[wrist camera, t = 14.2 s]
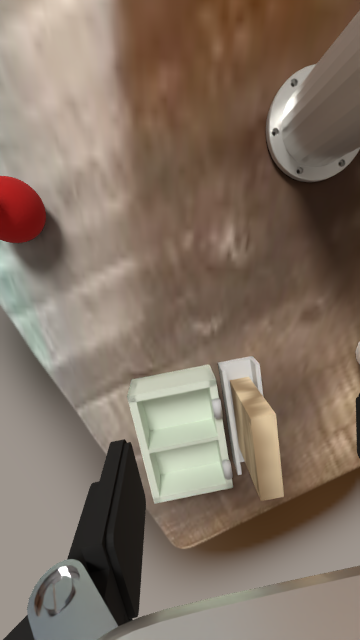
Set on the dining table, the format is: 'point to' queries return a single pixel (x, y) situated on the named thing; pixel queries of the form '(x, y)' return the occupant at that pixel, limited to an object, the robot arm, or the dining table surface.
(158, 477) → the cabinet
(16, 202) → the christmas ornament
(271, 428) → the beige flat block
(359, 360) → the foam cup
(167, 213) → the dining table surface
